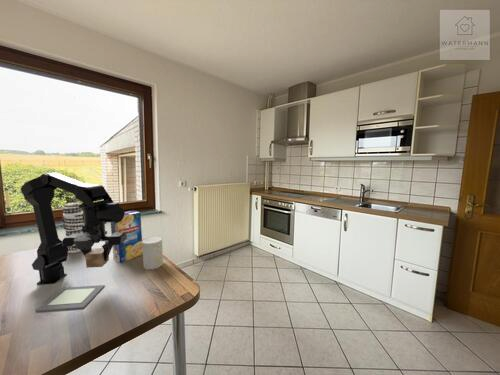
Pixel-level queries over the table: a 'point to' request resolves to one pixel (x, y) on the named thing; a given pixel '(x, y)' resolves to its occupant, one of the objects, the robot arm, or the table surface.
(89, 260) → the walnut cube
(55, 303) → the rest pad
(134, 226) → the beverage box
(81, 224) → the decorative candle
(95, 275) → the table surface
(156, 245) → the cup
